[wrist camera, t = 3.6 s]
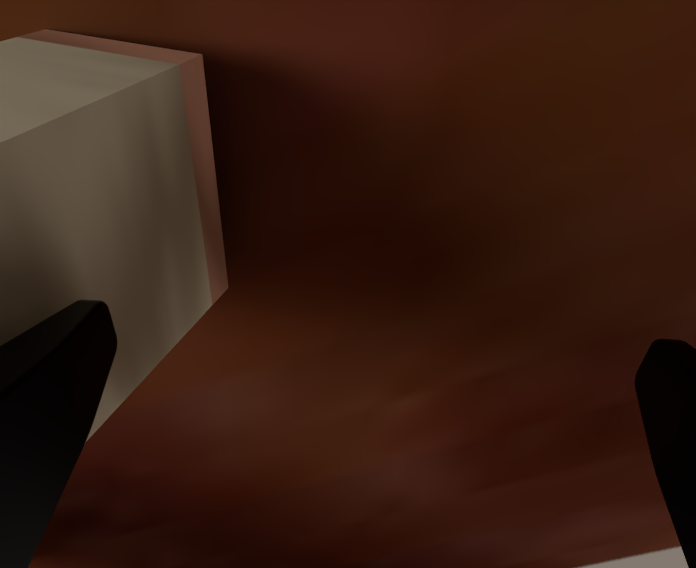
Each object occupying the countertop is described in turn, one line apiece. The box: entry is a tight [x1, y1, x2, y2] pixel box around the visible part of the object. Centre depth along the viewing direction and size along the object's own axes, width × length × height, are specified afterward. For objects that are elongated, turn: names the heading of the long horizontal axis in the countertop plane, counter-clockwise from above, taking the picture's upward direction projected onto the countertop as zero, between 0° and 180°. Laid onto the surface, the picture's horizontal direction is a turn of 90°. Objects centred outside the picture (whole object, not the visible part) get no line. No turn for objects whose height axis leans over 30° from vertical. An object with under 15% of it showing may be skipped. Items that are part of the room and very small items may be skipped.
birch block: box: [0, 29, 228, 441], centre depth 11 cm, size 6×4×8 cm, turn 177°
